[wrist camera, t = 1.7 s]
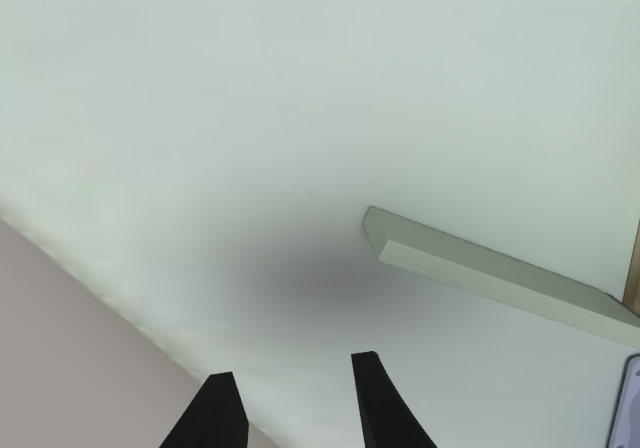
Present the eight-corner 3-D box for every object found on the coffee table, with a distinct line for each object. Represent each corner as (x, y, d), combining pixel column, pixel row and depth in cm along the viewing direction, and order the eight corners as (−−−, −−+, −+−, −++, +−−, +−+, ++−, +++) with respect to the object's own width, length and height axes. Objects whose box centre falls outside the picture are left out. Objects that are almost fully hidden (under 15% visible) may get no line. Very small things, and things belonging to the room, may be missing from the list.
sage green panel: (617, 297, 20) (687, 345, 17) (606, 310, 21) (672, 360, 17) (371, 205, 18) (388, 239, 14) (362, 223, 18) (377, 260, 14)
